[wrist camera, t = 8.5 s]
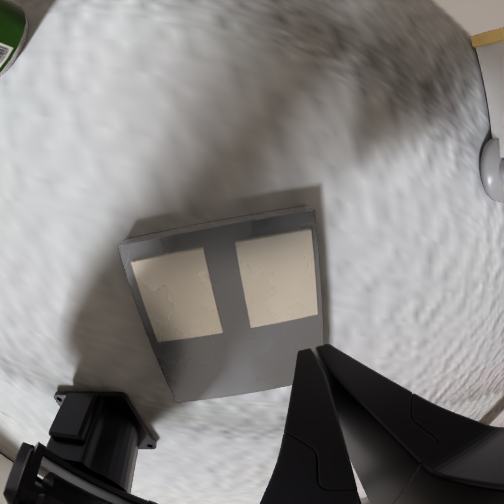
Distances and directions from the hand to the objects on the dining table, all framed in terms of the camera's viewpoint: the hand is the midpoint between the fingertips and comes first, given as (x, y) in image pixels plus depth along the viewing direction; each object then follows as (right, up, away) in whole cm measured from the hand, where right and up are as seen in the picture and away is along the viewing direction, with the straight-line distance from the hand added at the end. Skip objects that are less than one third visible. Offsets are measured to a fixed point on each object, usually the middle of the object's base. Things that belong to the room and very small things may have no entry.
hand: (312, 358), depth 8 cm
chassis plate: (-3, 0, +7) cm, 8 cm away
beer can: (-17, +16, +1) cm, 23 cm away
